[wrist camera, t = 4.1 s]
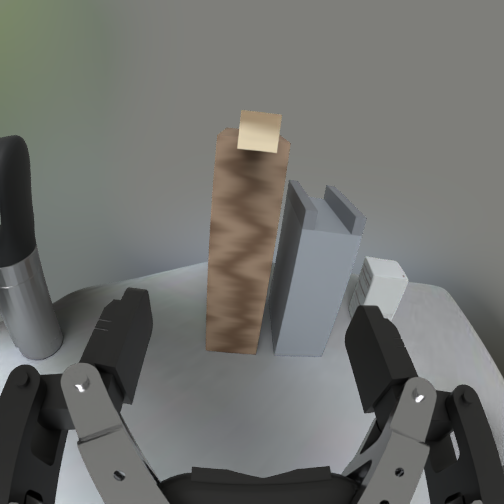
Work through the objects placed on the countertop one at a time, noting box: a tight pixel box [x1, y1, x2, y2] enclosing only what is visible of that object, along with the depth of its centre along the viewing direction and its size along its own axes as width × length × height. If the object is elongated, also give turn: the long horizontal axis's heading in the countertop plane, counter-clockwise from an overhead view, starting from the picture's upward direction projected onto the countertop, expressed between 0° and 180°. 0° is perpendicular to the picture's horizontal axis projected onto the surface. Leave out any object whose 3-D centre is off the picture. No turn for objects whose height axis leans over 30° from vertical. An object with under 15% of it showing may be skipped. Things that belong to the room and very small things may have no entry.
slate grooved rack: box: [269, 180, 367, 357], centre depth 46 cm, size 8×15×24 cm, turn 1°
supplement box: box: [349, 257, 409, 321], centre depth 52 cm, size 7×7×13 cm
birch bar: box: [237, 110, 282, 153], centre depth 31 cm, size 24×3×3 cm, turn 1°
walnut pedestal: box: [206, 128, 290, 354], centre depth 44 cm, size 8×15×32 cm, turn 1°
